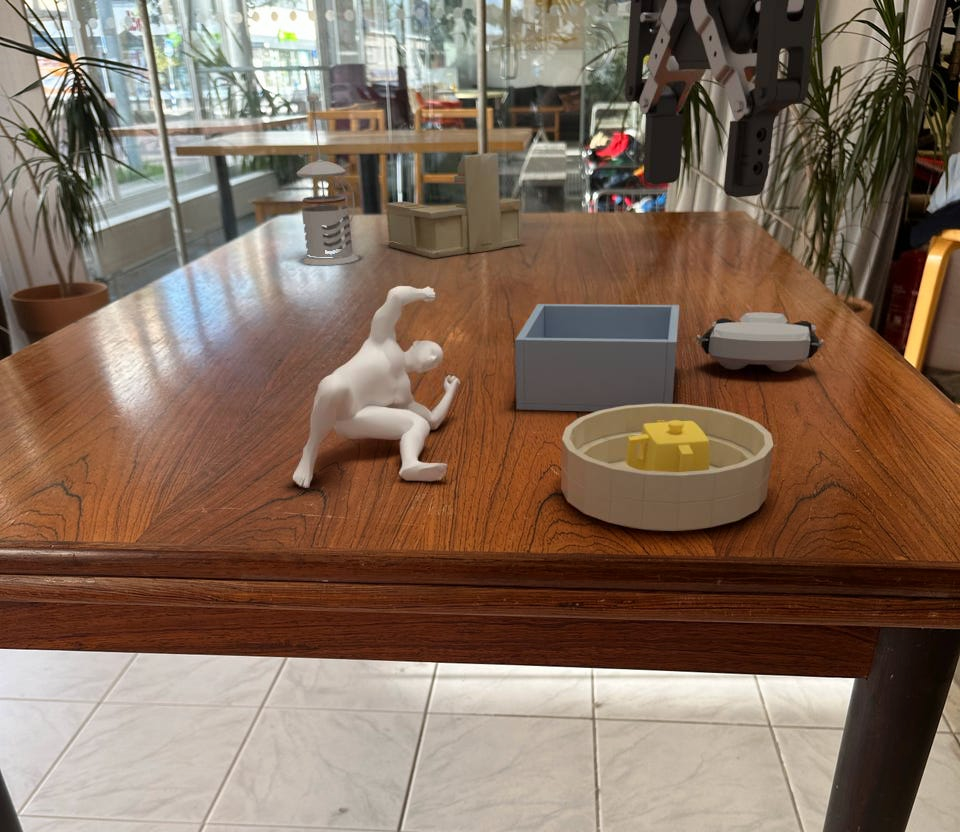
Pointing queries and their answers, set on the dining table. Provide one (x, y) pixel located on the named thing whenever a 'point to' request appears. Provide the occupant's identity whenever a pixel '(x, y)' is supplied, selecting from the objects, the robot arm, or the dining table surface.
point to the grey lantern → (326, 215)
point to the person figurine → (381, 394)
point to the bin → (596, 356)
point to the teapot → (669, 447)
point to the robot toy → (760, 341)
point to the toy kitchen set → (460, 216)
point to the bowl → (665, 495)
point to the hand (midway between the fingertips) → (699, 188)
